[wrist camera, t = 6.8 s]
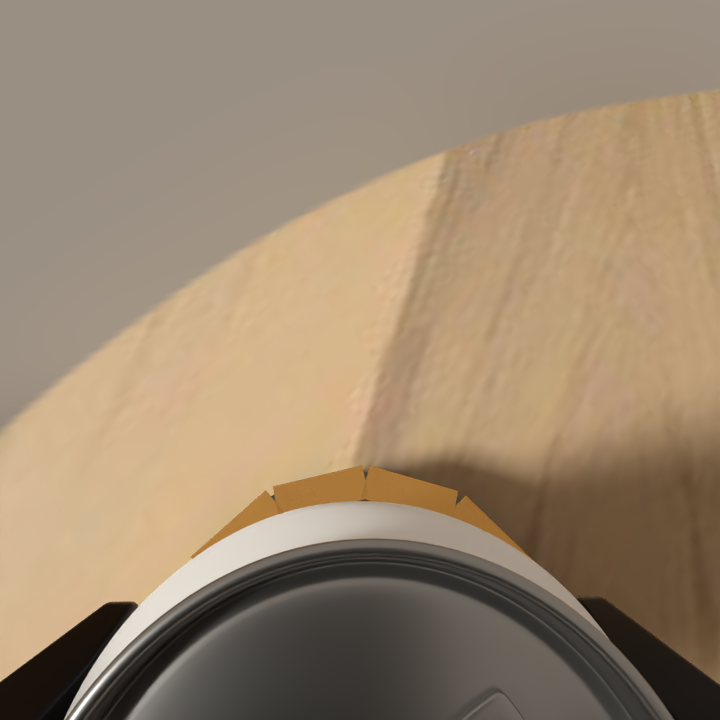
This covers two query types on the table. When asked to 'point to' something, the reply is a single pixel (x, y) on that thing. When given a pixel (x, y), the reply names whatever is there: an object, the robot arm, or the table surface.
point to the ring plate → (361, 499)
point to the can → (362, 630)
